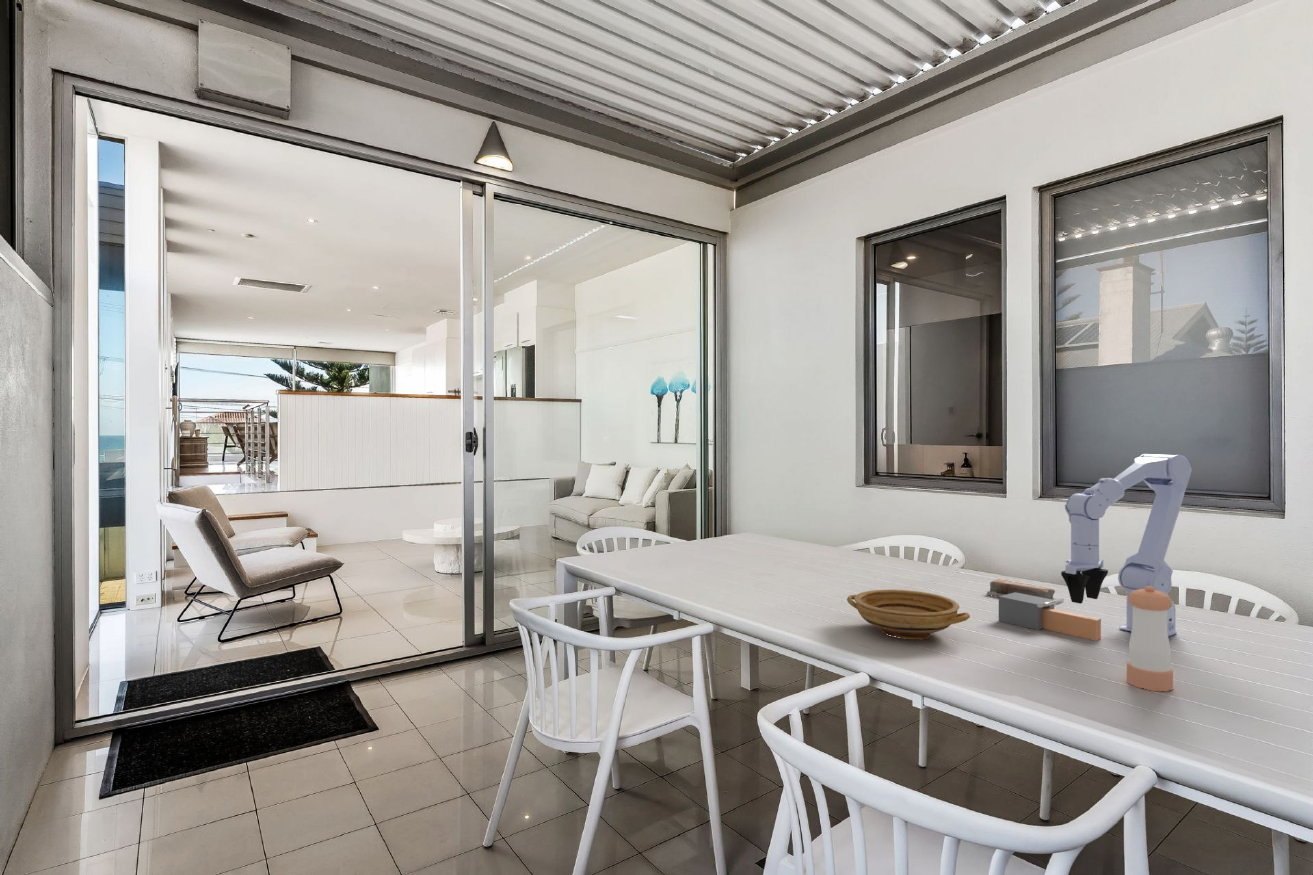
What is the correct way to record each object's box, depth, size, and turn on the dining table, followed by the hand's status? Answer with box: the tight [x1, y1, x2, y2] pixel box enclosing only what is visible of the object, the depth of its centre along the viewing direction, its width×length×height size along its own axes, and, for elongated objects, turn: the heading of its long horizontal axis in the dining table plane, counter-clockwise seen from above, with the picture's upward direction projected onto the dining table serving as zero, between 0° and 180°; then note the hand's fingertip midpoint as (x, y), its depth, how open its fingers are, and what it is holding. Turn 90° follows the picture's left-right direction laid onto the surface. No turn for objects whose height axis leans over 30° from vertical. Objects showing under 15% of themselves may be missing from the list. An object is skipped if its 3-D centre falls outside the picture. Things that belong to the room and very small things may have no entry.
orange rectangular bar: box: [1043, 607, 1102, 641], centre depth 167 cm, size 16×2×5 cm, turn 34°
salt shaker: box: [1126, 586, 1174, 692], centre depth 132 cm, size 7×7×19 cm
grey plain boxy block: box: [998, 592, 1058, 631], centre depth 174 cm, size 11×8×6 cm
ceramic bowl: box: [846, 589, 971, 640], centre depth 167 cm, size 30×24×8 cm
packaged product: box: [986, 578, 1065, 606], centre depth 200 cm, size 18×5×10 cm
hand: (1084, 600), depth 163 cm, fingers open, 7 cm apart
